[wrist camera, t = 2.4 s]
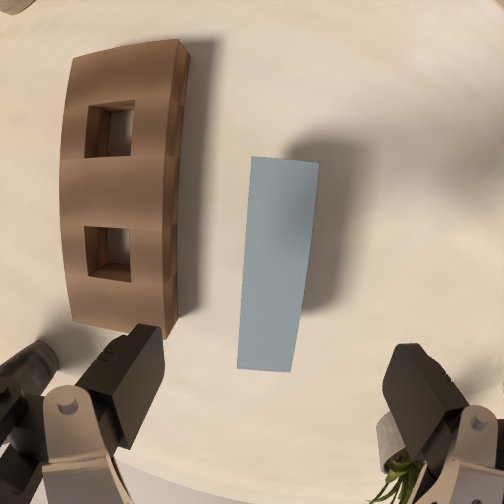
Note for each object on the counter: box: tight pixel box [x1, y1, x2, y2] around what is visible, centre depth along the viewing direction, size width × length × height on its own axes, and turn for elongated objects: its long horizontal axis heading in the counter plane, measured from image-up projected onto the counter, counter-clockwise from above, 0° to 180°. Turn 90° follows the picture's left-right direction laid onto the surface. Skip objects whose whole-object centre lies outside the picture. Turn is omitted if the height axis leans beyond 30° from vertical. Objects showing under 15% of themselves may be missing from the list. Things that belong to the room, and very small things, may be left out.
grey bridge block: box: [237, 156, 319, 372], centre depth 19 cm, size 13×4×6 cm, turn 176°
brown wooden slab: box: [59, 39, 190, 340], centre depth 20 cm, size 22×9×4 cm, turn 176°
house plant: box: [366, 412, 426, 504], centre depth 20 cm, size 14×14×16 cm
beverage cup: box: [0, 341, 59, 445], centre depth 18 cm, size 7×7×20 cm
